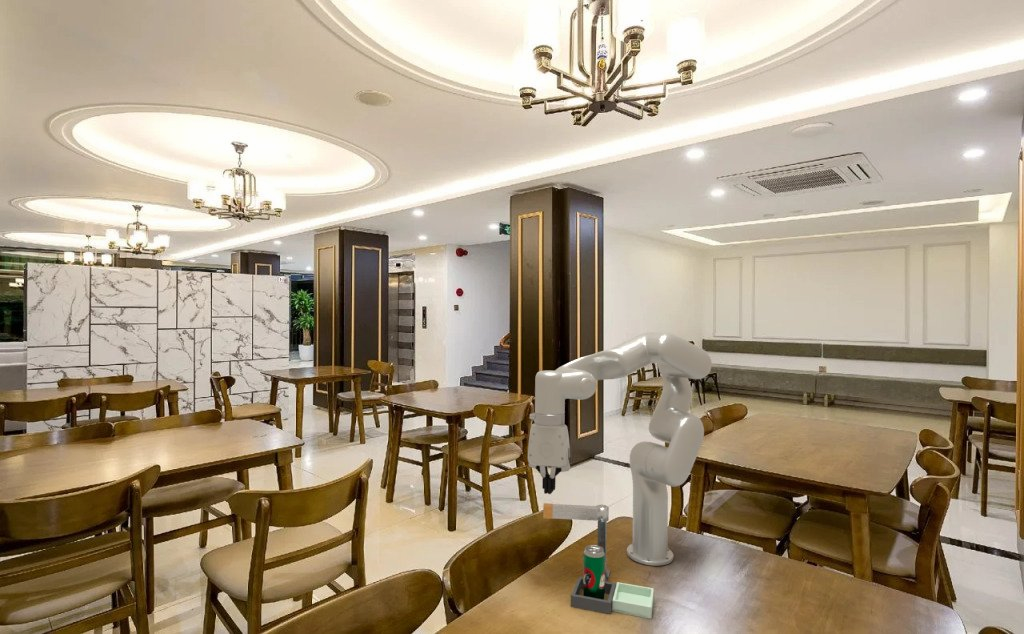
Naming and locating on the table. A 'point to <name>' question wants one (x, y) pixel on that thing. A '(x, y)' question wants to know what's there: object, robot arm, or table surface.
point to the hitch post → (603, 542)
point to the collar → (591, 602)
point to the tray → (633, 600)
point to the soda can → (594, 572)
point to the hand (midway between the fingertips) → (548, 492)
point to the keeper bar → (576, 512)
